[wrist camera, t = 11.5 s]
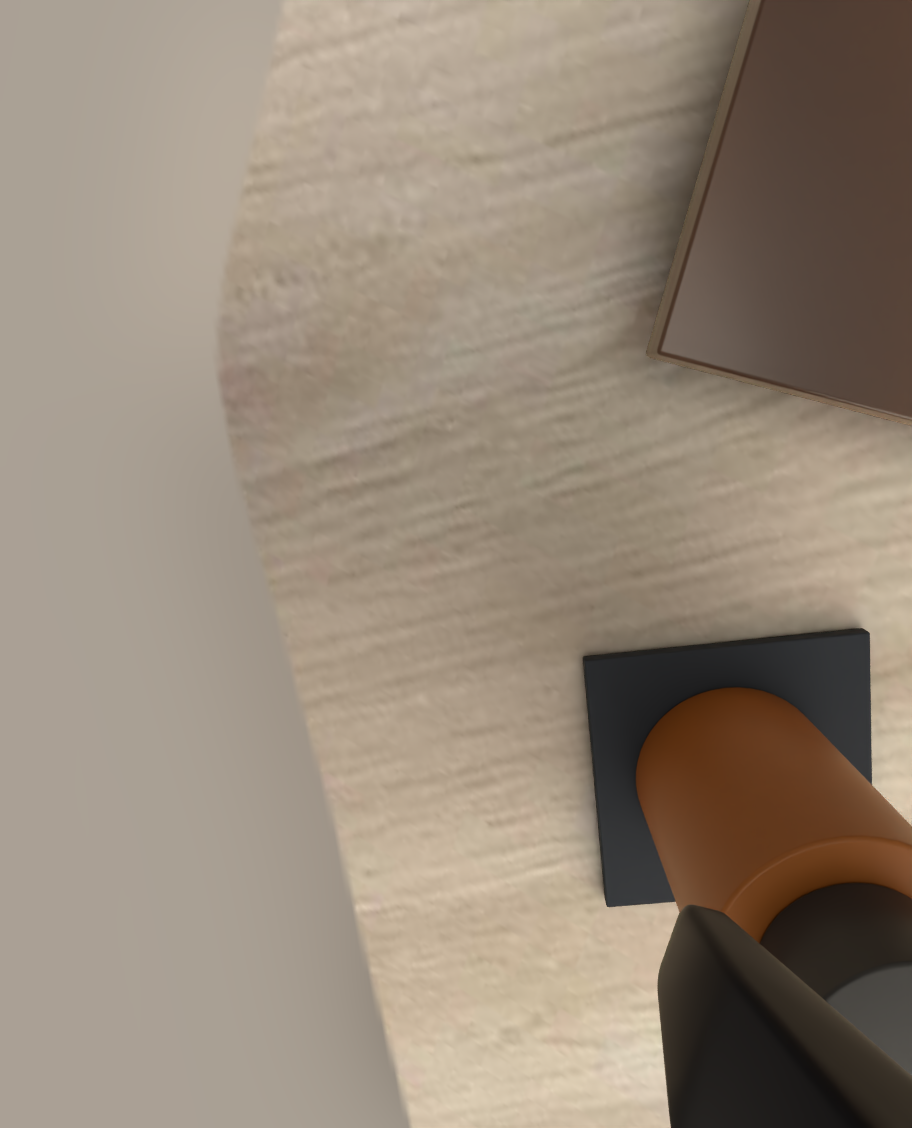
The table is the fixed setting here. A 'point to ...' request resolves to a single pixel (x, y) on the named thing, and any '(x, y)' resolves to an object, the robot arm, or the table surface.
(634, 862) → the coaster
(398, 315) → the table surface
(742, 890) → the spice bottle
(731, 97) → the shelf
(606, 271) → the table surface
